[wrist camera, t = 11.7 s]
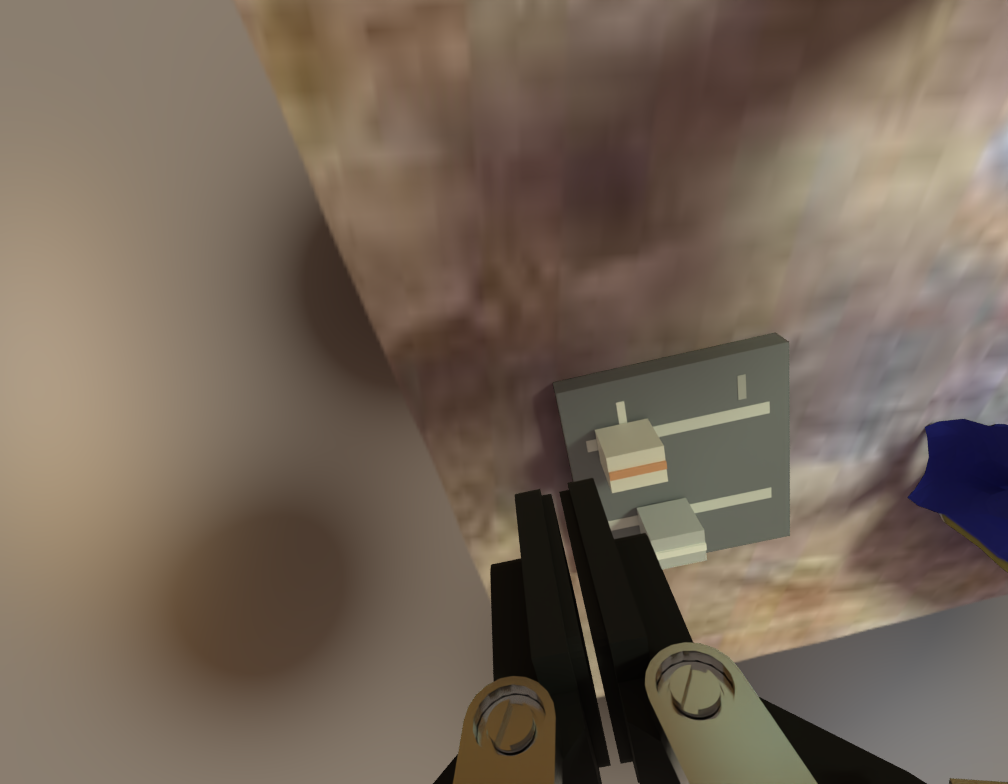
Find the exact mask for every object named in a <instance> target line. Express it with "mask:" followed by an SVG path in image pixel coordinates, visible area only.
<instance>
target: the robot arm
mask: <svg viewBox="0 0 1008 784" xmlns="http://www.w3.org/2000/svg"><path fill="white" fill-rule="evenodd" d="M568 487H569V490H566V491H562V492H559V493H560V497H561V502H562V506H563V511H564V515H565V520H566V524H567V529H568V533H569V538H570V542H571V547H572V551H573V556H574V560H575V564H576V569H577V573H578V578H579V582H580V587H581V591H582V596H583V600H584V605H585V609H586V613H587V618H588V622H589V627H590V631H591V635H592V640H593V644H594V648H595V653H596V657H597V662H598V666H599V670H600V675H601V679H602V684H603V688H604V692H605V697H606V701H607V705H608V710H609V714H610V718H611V723H612V727H613V732H614V736H615V741H616V745H617V749H618V754H619V758H620V762H621V763H627V762H632V761H633V764H634V768H635V772H636V776H637V780H638V783H640V784H926V783H925V782H923V781H922V780H920V779H919V778H917V777H915V776H914V775H912V774H911V773H909V772H907V771H905V770H903V769H901V768H899V767H897V766H895V765H893V764H891V763H889V762H887V761H885V760H883V759H881V758H879V757H877V756H875V755H873V754H871V753H869V752H867V751H865V750H864V749H861V748H859V747H857V746H855V745H854V744H852V743H850V742H848V741H846V740H844V739H842V738H840V737H837V736H836V735H834V734H832V733H830V732H828V731H826V730H824V729H822V728H820V727H818V726H816V725H814V724H812V723H810V722H808V721H806V720H804V719H802V718H800V717H798V716H796V715H794V714H792V713H790V712H788V711H786V710H784V709H782V708H780V707H778V706H776V705H774V704H772V703H770V702H768V701H766V700H764V699H762V698H760V697H758V696H757V694H756V693H755V691H754V690H753V688H752V687H751V686H750V684H749V682H748V681H747V680H746V678H745V677H744V675H743V674H742V672H741V671H740V669H739V668H738V667H737V666H736V665H735V664H734V662H733V661H732V660H731V659H730V658H729V657H728V656H726V655H725V654H723V653H722V652H720V651H719V650H717V649H716V648H713V647H710V646H707V645H704V644H701V643H693V641H692V639H691V636H690V634H689V632H688V629H687V627H686V624H685V622H684V620H683V617H682V615H681V613H680V610H679V608H678V606H677V603H676V601H675V599H674V596H673V594H672V592H671V589H670V587H669V584H668V582H667V580H666V577H665V575H664V573H663V570H662V568H661V566H660V563H659V561H658V559H657V556H656V554H655V552H654V549H653V547H652V544H651V542H650V540H649V538H648V536H647V534H646V533H642V534H637V535H632V536H627V537H622V538H618V539H614V538H613V535H612V532H611V529H610V526H609V523H608V520H607V517H606V514H605V511H604V508H603V505H602V502H601V499H600V496H599V493H598V490H597V487H596V484H595V482H594V479H593V478H589V479H584V480H580V481H575V482H570V483H568ZM515 504H516V513H517V523H518V533H519V542H520V552H521V559H516V560H511V561H507V562H502V563H497V564H492V565H491V572H490V575H491V608H492V638H493V639H492V640H493V641H492V642H493V674H494V682H492V683H490V684H488V685H487V686H485V687H484V688H483V689H482V690H481V691H480V692H479V693H478V694H476V696H475V697H474V699H473V700H472V702H471V703H470V705H469V707H468V709H467V712H466V715H465V718H464V721H463V728H462V733H461V739H460V745H459V751H458V754H457V756H456V757H455V758H454V759H453V760H452V762H451V763H450V764H449V765H448V766H447V768H446V769H445V770H444V771H443V772H442V774H441V775H440V776H439V777H438V778H437V780H436V781H435V782H434V783H433V784H602V782H601V777H600V771H599V767H605V766H610V760H609V755H608V750H607V746H606V741H605V736H604V731H603V727H602V722H601V717H600V712H599V708H598V703H597V698H596V693H595V689H594V684H593V679H592V675H591V670H590V665H589V660H588V656H587V651H586V646H585V641H584V637H583V632H582V627H581V622H580V618H579V613H578V608H577V604H576V599H575V594H574V590H573V586H572V581H571V577H570V573H569V568H568V564H567V560H566V555H565V551H564V547H563V542H562V538H561V534H560V529H559V525H558V521H557V516H556V512H555V508H554V503H553V499H552V495H551V494H548V495H543V496H542V495H541V491H540V489H538V490H533V491H528V492H524V493H519V494H515ZM949 784H1008V782H997V781H982V780H967V779H954V778H953V779H952V778H950V780H949Z"/></svg>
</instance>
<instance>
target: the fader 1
mask: <svg viewBox="0 0 1008 784" xmlns="http://www.w3.org/2000/svg"><path fill="white" fill-rule="evenodd" d="M595 434H596V439H597V445H598V451H599V456H600V462H601V465H602V468H603V470H604V473H605V476H606V478H607V481H608V484H609V486H610V489H611V492H612V493H616V492H621V491H625V490H630V489H635V488H639V487H644V486H649V485H654V484H658V483H663V482H668V476H667V462H666V459H665V451H664V445H663V443H662V442H661V440H660V438H659V437H658V435H657V433H656V432H655V430H654V428H653V427H652V425H651V423H650V422H649V420H648V418H647V419H642V420H637V421H633V422H628V423H624V424H619V425H615V426H610V427H605V428H601V429H596V430H595Z"/></svg>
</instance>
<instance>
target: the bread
mask: <svg viewBox="0 0 1008 784" xmlns="http://www.w3.org/2000/svg"><path fill="white" fill-rule="evenodd" d="M925 430H926V434H927V440H928V452H929V459H928V463H927V467H926V471H925V474H924V476H923V477H922V479H921V480H920V482H919V484H918V485H917V487H916V488H915V490H914V491H913V492H912V493H911V494H910V495H909V496H908V498H909V499H910V500H911V501H913V502H914V503H915V504H916V505H918V506H920V507H923V508H926V509H929V510H932V511H935V512H938V513H939V515H940V517H941V518H942V520H943V522H944V523H946V524H947V525H949V526H950V527H952V528H953V529H955V530H956V531H957V532H959V533H960V534H962V535H963V536H964V537H966V538H967V539H968V540H970V541H971V542H972V543H974V544H975V545H976V546H978V547H979V548H980V549H982V550H983V551H984V552H985V553H986V554H987V555H988V556H989V557H990V558H991V559H992V560H993V561H994V562H996V563H997V564H998V565H999V566H1000V567H1001V568H1002V569H1004V570H1005V571H1006V572H1008V425H1006V424H995V425H994V426H987V425H983V424H980V423H977V422H973V421H970V420H966V419H958V420H949V421H939V422H936V423H934V424H931V425H929V426H926V427H925Z"/></svg>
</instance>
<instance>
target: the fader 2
mask: <svg viewBox="0 0 1008 784" xmlns="http://www.w3.org/2000/svg"><path fill="white" fill-rule="evenodd" d="M637 513H638V520H639V527H640V533H641V534H642V533H646V534H647V536H648V538H649V540H650V542H651V544H652V547H653V549H654V552H655V554H656V556H657V559H658V561H659V563H660V566H661V568H662V569H667V568H672V567H676V566H681V565H686V564H691V563H696V562H701V561H706V560H707V556H706V550H707V546H706V543H705V533H704V529H703V527H702V525H701V523H700V522H699V520H698V518H697V516H696V515H695V513H694V511H693V510H692V508H691V506H690V504H689V503H688V501H687V499H686V498H682V499H677V500H672V501H667V502H663V503H658V504H653V505H648V506H644V507H639V508H637Z"/></svg>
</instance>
